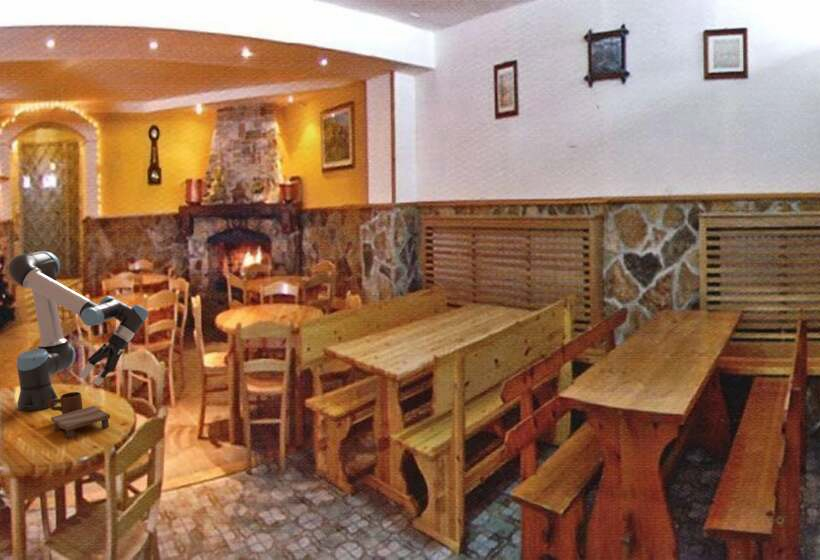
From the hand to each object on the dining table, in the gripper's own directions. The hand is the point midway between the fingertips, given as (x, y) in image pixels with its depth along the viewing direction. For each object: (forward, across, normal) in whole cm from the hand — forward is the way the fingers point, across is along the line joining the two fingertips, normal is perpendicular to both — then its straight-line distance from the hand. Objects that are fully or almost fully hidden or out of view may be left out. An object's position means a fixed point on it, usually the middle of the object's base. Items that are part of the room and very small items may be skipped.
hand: (88, 380), depth 268 cm
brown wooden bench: (+17, -15, -2) cm, 23 cm away
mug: (+16, +1, -3) cm, 17 cm away
